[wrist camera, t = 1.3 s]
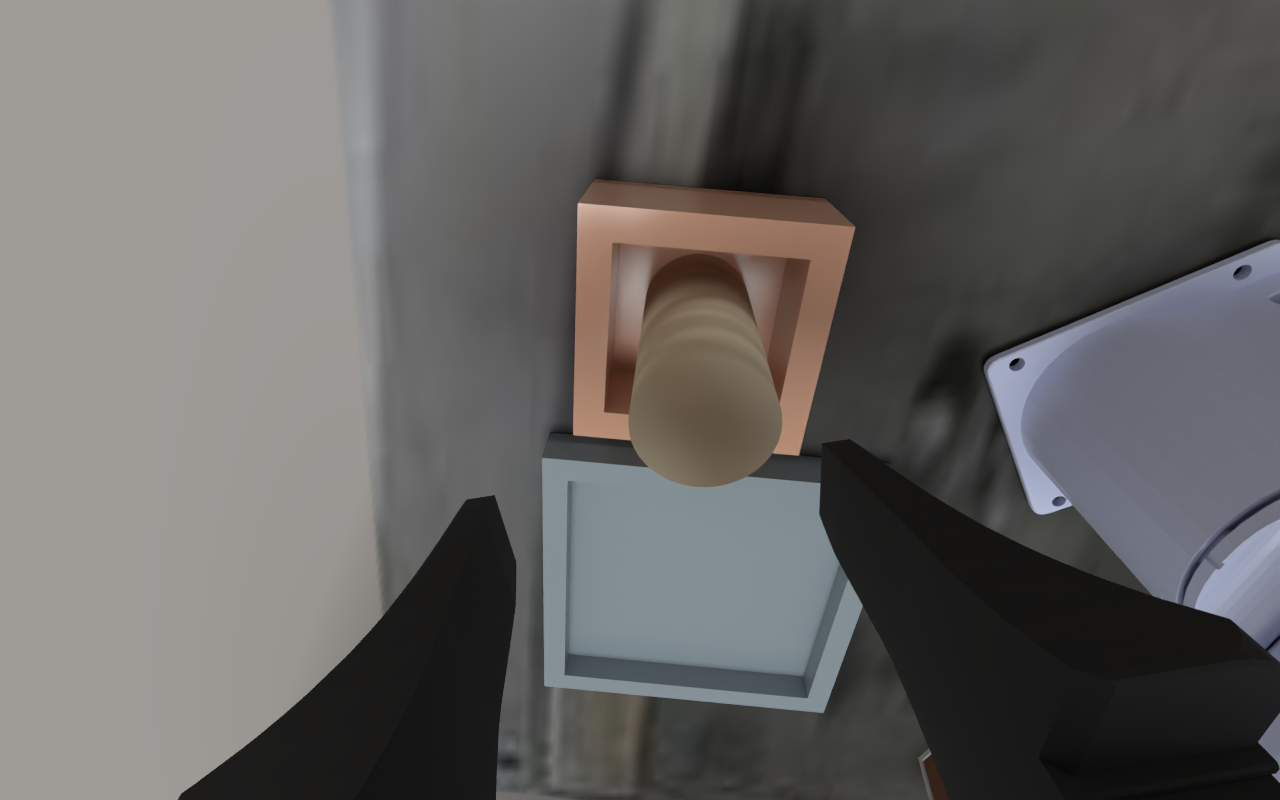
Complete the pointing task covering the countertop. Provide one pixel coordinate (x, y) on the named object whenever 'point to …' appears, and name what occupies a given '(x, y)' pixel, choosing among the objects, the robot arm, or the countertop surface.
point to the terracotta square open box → (724, 228)
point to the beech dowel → (702, 378)
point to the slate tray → (690, 581)
